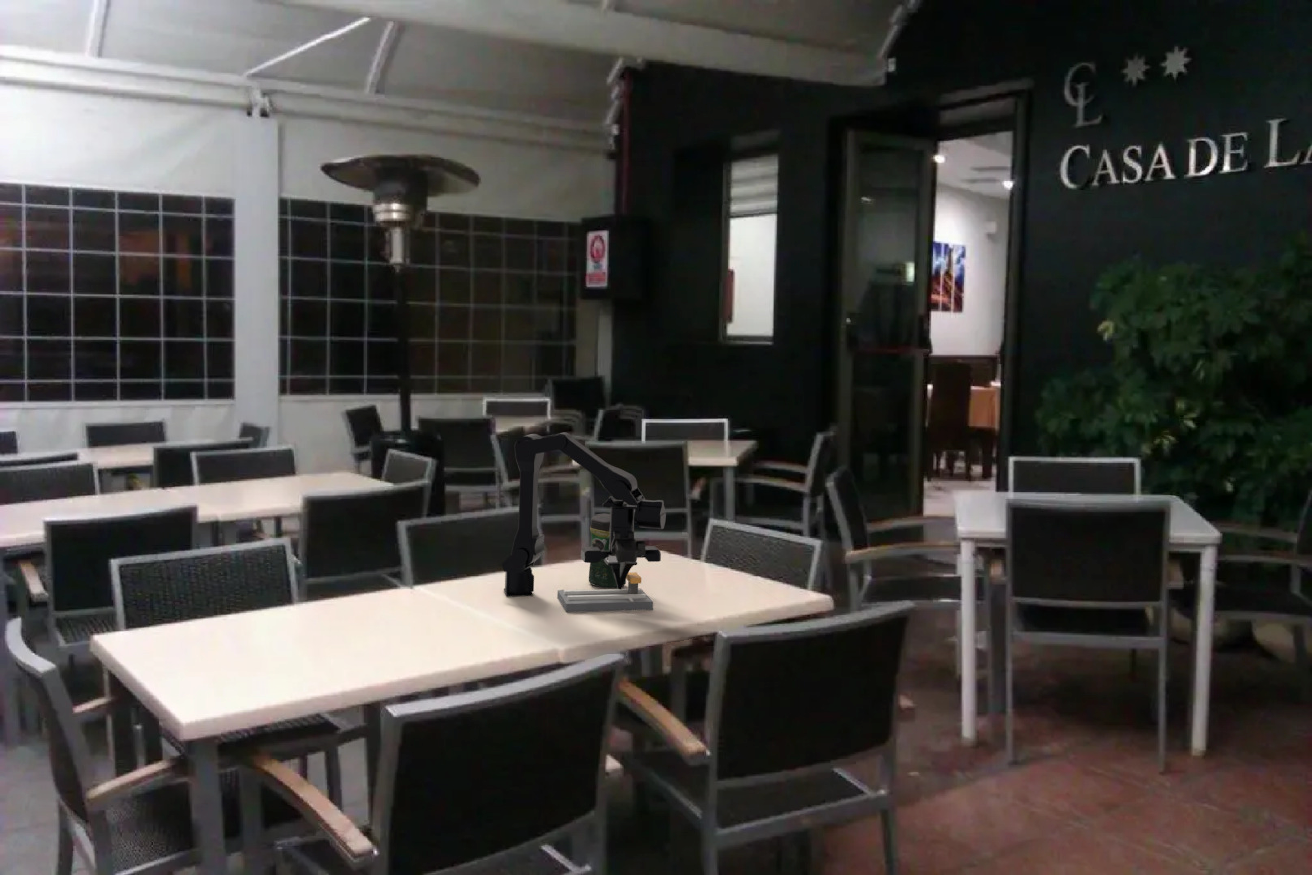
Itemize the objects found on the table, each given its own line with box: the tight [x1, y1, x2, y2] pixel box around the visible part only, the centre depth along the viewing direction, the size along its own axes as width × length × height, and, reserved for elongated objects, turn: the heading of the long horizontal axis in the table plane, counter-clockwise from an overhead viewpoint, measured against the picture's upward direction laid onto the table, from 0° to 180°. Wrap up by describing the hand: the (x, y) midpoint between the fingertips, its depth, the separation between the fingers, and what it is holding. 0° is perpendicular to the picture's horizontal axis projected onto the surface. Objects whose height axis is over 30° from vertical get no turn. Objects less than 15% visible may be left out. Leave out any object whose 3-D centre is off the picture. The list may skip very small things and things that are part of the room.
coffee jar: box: [588, 513, 627, 589], centre depth 290 cm, size 10×8×19 cm
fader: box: [626, 571, 642, 594], centre depth 273 cm, size 3×6×5 cm, turn 14°
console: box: [557, 587, 654, 613], centre depth 272 cm, size 21×13×3 cm, turn 104°
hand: (619, 589), depth 273 cm, fingers closed
